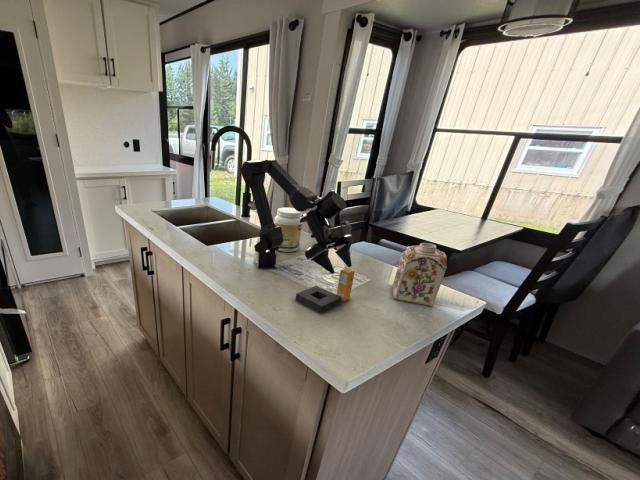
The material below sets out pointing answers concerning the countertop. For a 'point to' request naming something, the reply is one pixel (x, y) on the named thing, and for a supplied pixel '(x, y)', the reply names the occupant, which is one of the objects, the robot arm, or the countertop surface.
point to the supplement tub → (289, 228)
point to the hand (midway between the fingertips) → (342, 269)
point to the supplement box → (345, 284)
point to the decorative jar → (419, 274)
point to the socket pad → (318, 299)
